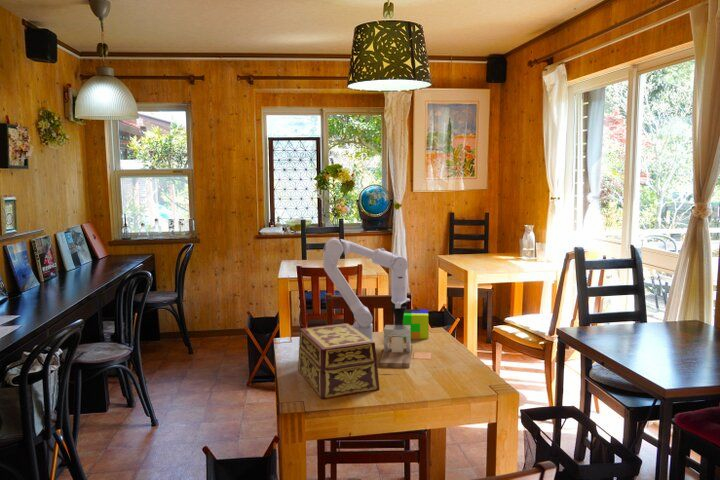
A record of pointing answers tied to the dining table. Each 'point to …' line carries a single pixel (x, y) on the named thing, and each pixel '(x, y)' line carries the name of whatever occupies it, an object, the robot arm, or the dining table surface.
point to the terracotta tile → (422, 355)
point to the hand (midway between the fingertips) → (399, 322)
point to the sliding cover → (397, 331)
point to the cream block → (397, 344)
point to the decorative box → (337, 360)
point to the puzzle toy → (417, 323)
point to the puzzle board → (396, 358)
